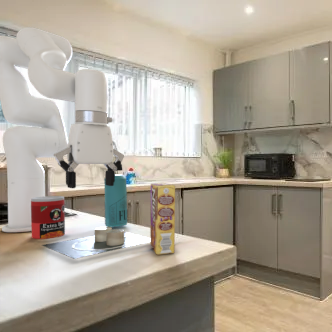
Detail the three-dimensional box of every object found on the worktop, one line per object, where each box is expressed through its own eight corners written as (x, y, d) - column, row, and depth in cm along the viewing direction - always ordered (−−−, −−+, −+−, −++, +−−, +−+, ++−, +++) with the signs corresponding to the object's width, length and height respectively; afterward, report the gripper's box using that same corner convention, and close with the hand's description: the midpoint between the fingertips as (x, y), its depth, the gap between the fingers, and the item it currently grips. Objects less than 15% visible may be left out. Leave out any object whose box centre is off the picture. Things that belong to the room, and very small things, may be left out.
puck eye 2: (103, 243, 78) (103, 231, 78) (119, 240, 81) (118, 228, 81) (111, 246, 76) (111, 233, 75) (127, 243, 79) (127, 230, 79)
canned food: (40, 243, 82) (40, 199, 82) (25, 239, 87) (24, 198, 86) (71, 237, 89) (70, 196, 89) (55, 234, 93) (54, 195, 93)
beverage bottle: (119, 232, 95) (118, 163, 94) (99, 231, 96) (98, 163, 96) (132, 227, 101) (131, 163, 101) (113, 227, 102) (112, 163, 102)
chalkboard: (41, 248, 78) (41, 244, 78) (120, 233, 93) (120, 230, 93) (74, 262, 66) (74, 258, 66) (158, 243, 82) (158, 239, 82)
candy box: (176, 253, 72) (175, 184, 72) (156, 255, 71) (155, 185, 70) (168, 244, 80) (167, 182, 80) (150, 246, 79) (149, 183, 78)
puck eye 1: (91, 240, 82) (91, 228, 82) (106, 237, 85) (106, 225, 85) (99, 242, 79) (99, 230, 79) (115, 239, 82) (114, 227, 82)
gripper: (116, 123, 92) (115, 183, 93) (48, 117, 79) (48, 187, 80) (130, 122, 88) (130, 185, 88) (61, 115, 74) (61, 190, 75)
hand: (91, 186), depth 84 cm, fingers open, 9 cm apart
